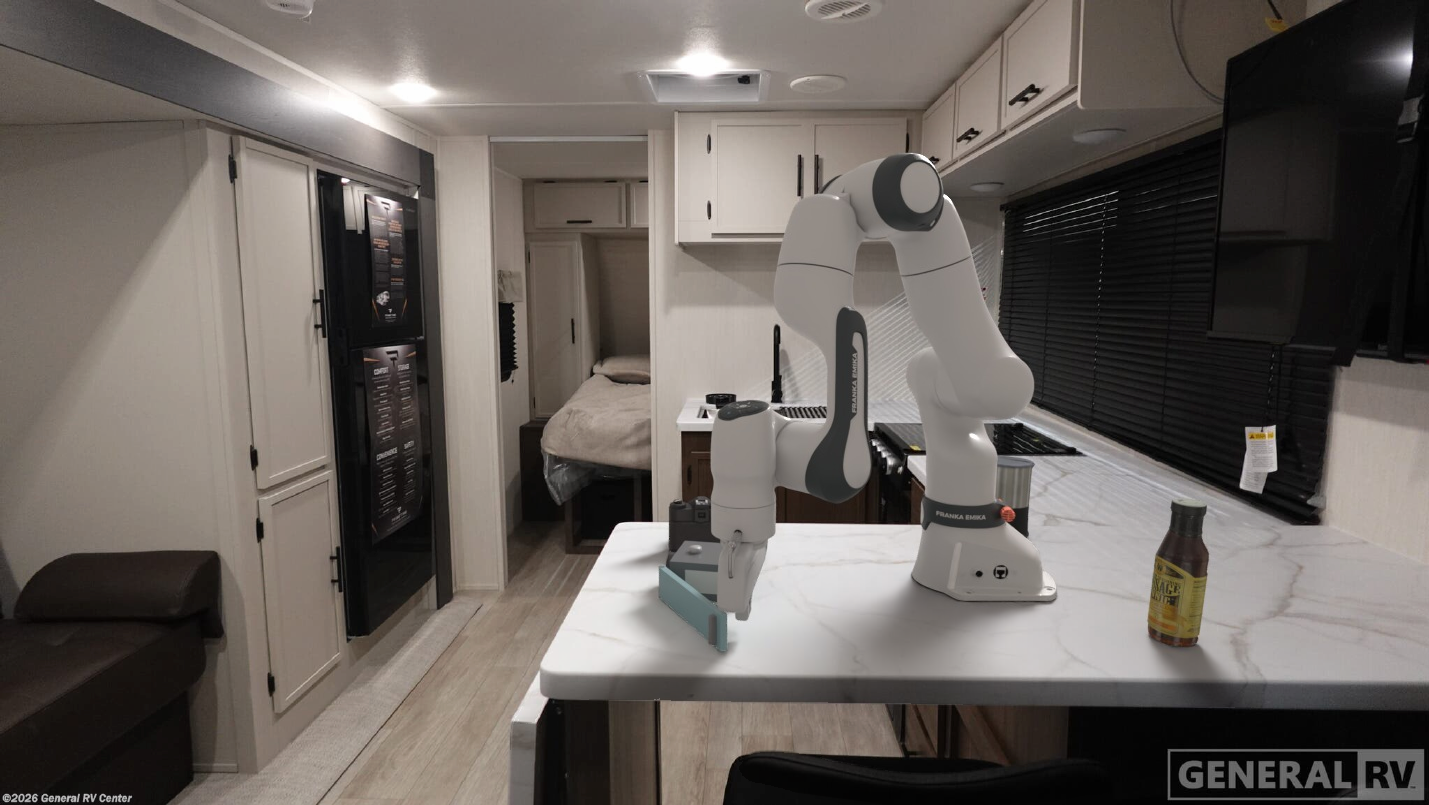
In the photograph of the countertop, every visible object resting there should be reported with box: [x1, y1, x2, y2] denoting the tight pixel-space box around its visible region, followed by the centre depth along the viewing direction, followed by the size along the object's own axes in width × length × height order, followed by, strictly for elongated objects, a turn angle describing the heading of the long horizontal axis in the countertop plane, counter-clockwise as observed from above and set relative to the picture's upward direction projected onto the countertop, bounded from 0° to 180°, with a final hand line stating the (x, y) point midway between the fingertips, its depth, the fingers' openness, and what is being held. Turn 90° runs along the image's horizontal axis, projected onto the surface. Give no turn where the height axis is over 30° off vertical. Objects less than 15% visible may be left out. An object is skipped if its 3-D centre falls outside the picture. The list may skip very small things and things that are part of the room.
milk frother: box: [995, 455, 1036, 538], centre depth 146 cm, size 14×16×15 cm
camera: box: [668, 495, 720, 553], centre depth 142 cm, size 14×11×10 cm
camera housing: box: [665, 541, 723, 603], centre depth 121 cm, size 13×10×7 cm
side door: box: [658, 564, 728, 652], centre depth 108 cm, size 20×2×5 cm, turn 28°
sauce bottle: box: [1146, 497, 1210, 648], centre depth 102 cm, size 7×6×20 cm
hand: (743, 616), depth 104 cm, fingers closed
